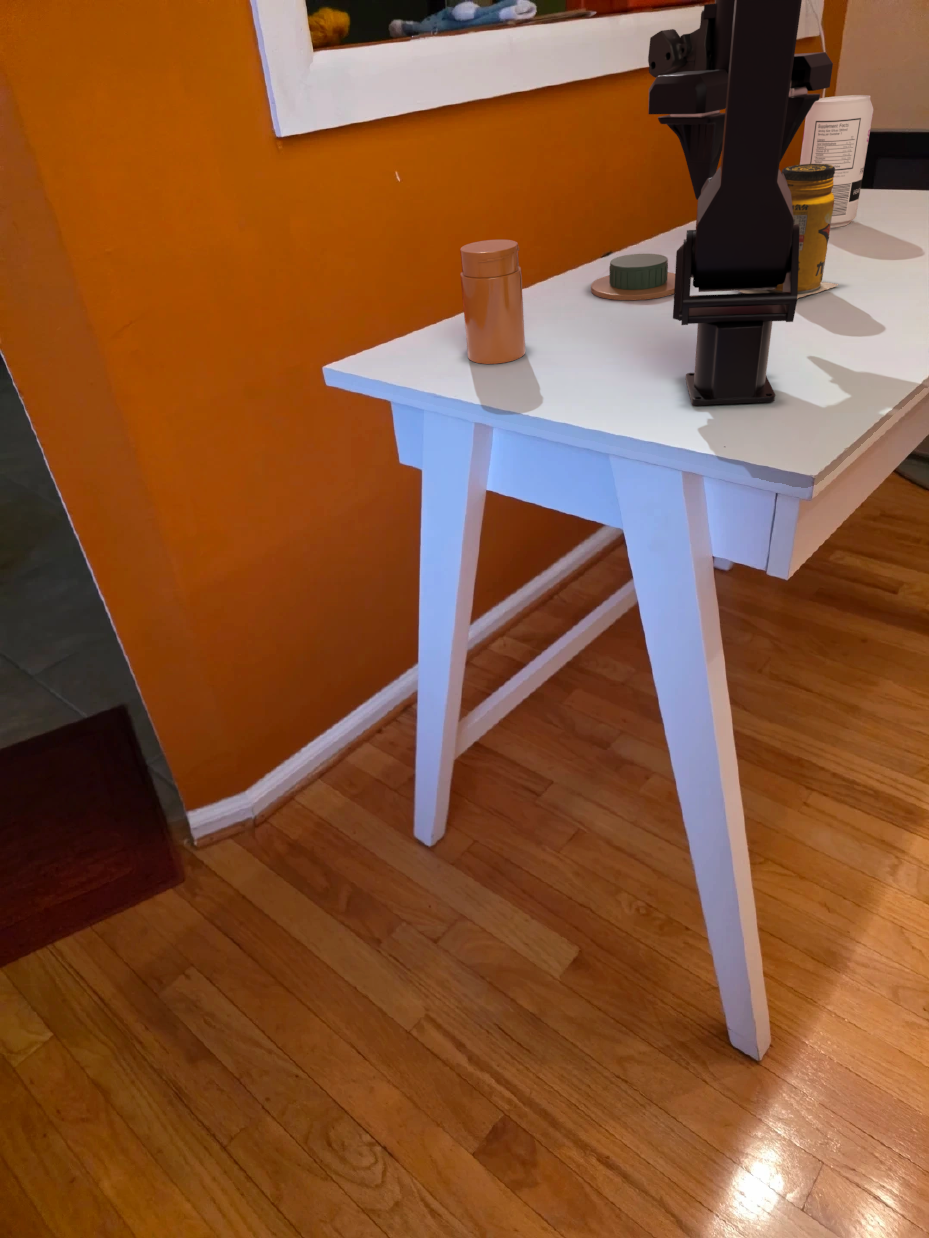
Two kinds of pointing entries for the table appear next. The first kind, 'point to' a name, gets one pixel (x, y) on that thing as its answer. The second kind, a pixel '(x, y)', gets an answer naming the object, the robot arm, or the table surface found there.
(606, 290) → the coaster
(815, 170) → the condiment
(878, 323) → the table surface
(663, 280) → the jam lid
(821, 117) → the supplement can
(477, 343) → the jam jar
